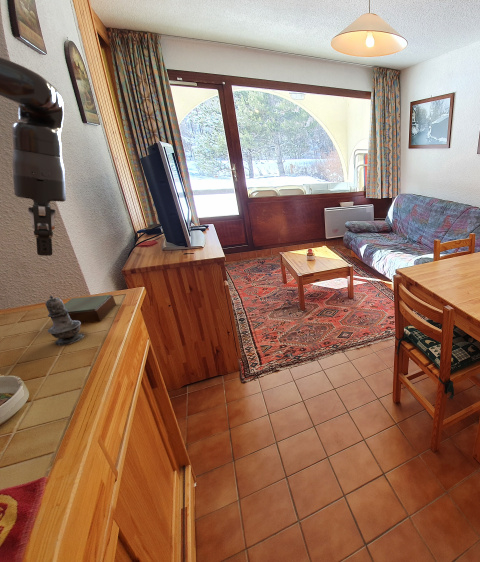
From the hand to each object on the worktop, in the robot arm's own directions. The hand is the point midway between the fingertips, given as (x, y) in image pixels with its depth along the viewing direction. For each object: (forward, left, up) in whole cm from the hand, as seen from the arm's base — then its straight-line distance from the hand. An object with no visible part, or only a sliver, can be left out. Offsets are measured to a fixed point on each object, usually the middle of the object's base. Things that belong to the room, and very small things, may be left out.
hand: (45, 252), depth 68 cm
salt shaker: (-2, 0, -22) cm, 22 cm away
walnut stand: (-4, +13, -22) cm, 26 cm away
